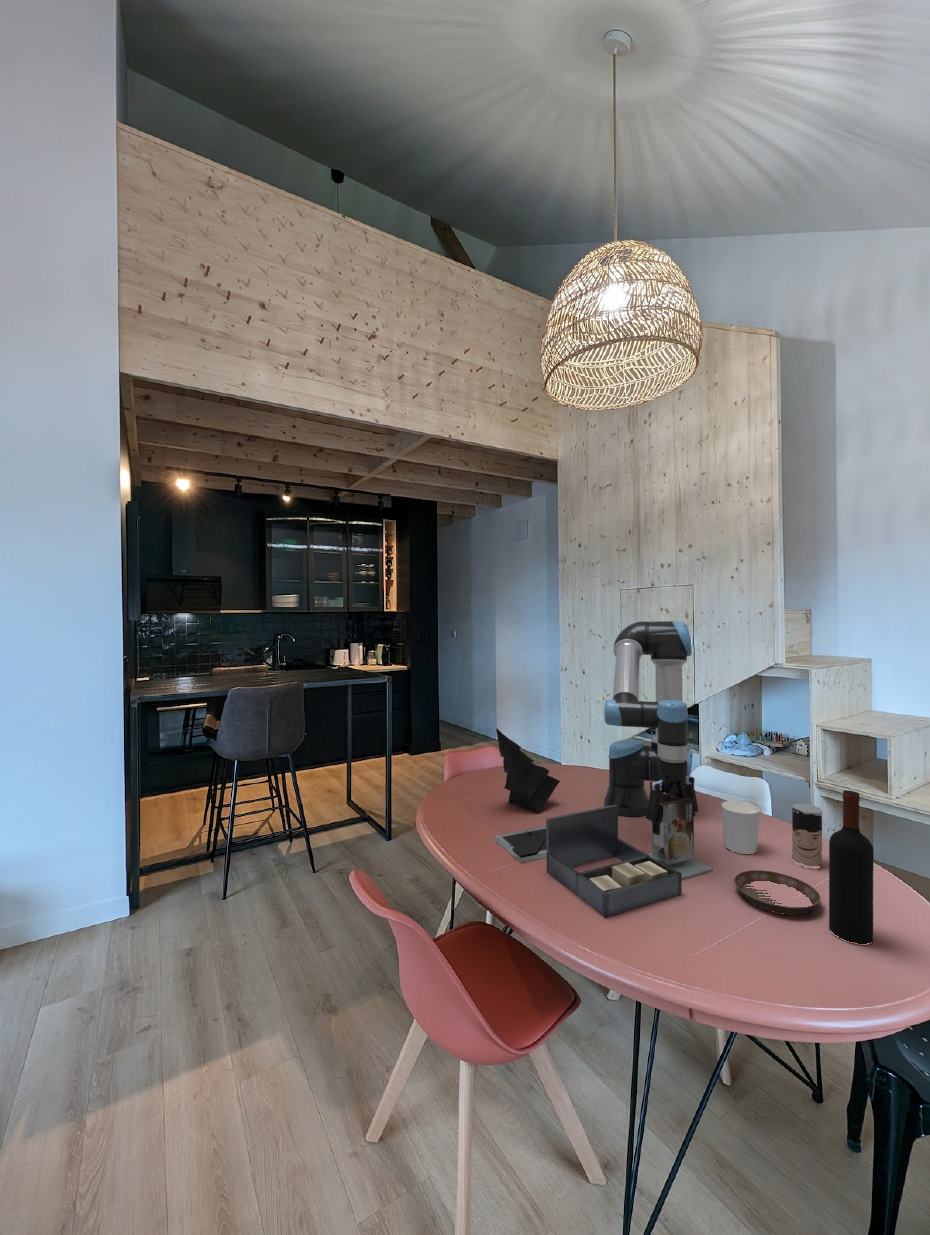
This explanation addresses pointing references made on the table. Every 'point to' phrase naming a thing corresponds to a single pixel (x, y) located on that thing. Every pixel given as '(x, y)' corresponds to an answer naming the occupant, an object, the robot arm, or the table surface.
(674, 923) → the table surface
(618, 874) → the block
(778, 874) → the plant saucer
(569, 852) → the open divided box
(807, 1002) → the table surface
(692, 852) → the coffee box
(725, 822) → the candle holder
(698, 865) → the pad
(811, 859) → the cup
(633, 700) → the robot arm
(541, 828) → the picture frame
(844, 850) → the wine bottle
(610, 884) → the offcut
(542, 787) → the decorative tree
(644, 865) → the offcut
